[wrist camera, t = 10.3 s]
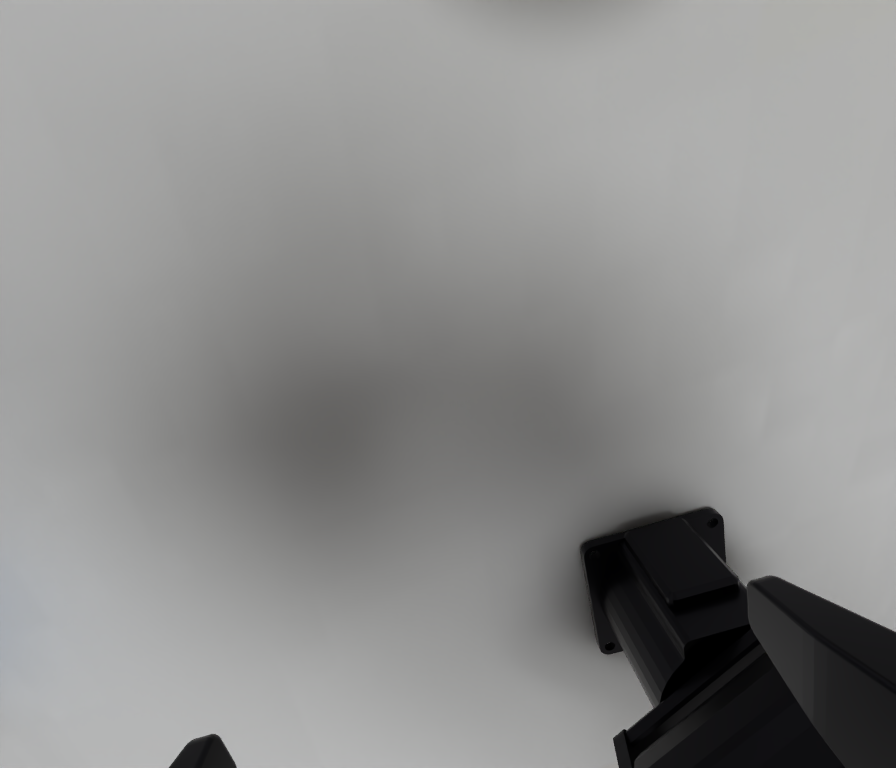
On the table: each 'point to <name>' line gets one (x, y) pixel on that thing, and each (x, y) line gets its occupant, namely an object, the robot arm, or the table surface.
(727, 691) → the robot arm
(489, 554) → the table surface
